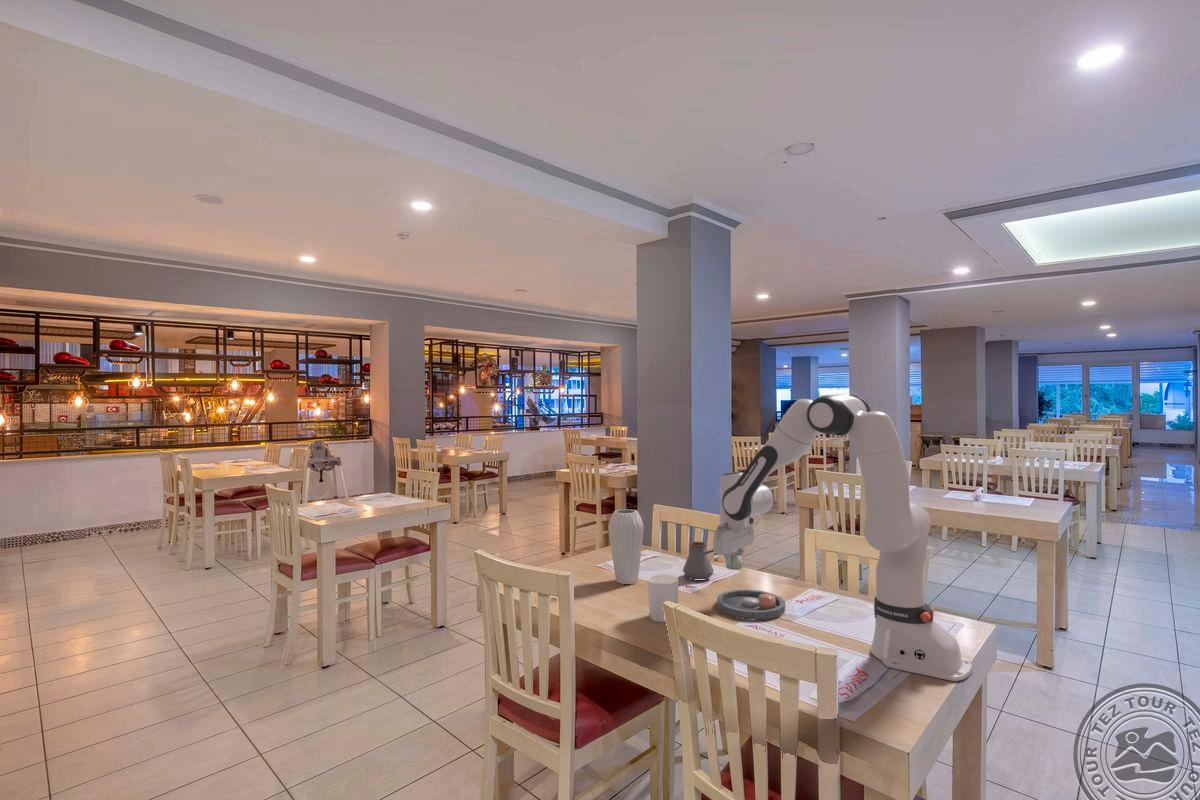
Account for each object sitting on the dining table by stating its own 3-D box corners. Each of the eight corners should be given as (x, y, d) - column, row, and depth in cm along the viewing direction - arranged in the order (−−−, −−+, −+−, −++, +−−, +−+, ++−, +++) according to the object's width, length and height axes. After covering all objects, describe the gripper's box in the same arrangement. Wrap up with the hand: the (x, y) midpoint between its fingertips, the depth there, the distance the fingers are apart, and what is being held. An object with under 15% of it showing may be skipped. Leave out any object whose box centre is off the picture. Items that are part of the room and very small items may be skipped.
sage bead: (743, 566, 187) (743, 554, 187) (738, 570, 183) (738, 558, 183) (729, 564, 190) (729, 552, 190) (723, 568, 186) (723, 556, 186)
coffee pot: (676, 577, 216) (676, 537, 216) (697, 571, 223) (696, 533, 223) (720, 591, 199) (720, 548, 199) (741, 584, 206) (740, 543, 207)
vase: (645, 587, 205) (644, 514, 205) (609, 587, 205) (607, 515, 205) (643, 576, 218) (642, 507, 218) (609, 576, 218) (608, 508, 219)
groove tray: (796, 606, 183) (796, 599, 183) (764, 626, 168) (764, 617, 168) (738, 592, 197) (738, 585, 197) (704, 609, 182) (704, 601, 182)
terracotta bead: (778, 608, 178) (778, 596, 178) (770, 613, 175) (770, 600, 175) (763, 605, 182) (763, 592, 182) (756, 609, 178) (755, 596, 178)
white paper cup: (654, 625, 170) (653, 585, 170) (643, 613, 179) (642, 575, 179) (684, 621, 172) (683, 581, 172) (672, 610, 182) (671, 572, 182)
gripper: (724, 527, 177) (725, 571, 177) (757, 517, 192) (757, 558, 192) (707, 524, 181) (708, 567, 181) (740, 514, 196) (741, 554, 196)
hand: (734, 562), depth 187 cm, fingers closed on sage bead, 5 cm apart
